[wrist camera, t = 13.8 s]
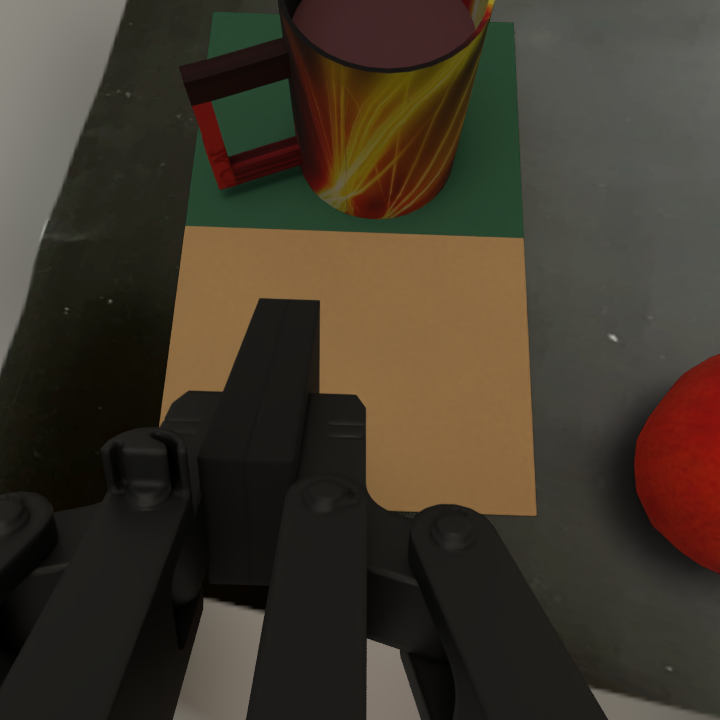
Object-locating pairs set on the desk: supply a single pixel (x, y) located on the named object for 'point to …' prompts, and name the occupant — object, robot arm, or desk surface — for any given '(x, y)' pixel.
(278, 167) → the mug
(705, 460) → the apple
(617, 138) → the desk surface
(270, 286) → the desk mat
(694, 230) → the desk surface
